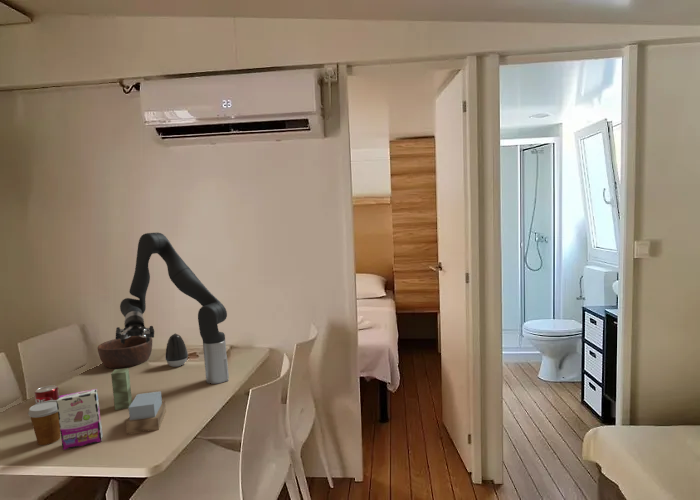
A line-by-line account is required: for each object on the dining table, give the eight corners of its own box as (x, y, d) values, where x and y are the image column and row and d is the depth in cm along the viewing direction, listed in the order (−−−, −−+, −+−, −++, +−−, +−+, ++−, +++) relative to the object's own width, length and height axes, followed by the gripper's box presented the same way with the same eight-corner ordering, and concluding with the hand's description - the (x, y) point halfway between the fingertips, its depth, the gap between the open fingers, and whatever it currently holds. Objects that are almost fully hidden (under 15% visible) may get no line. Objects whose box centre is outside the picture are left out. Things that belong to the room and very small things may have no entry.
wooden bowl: (164, 357, 245) (162, 338, 244) (118, 373, 224) (116, 352, 223) (135, 352, 258) (133, 333, 257) (89, 366, 237) (86, 346, 236)
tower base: (166, 412, 176) (165, 401, 176) (159, 430, 161) (157, 417, 161) (137, 417, 174) (135, 405, 173) (127, 435, 159) (125, 422, 159)
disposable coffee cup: (35, 438, 161) (30, 403, 160) (67, 431, 164) (63, 397, 163) (28, 450, 152) (24, 414, 151) (63, 443, 156) (59, 407, 155)
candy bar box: (103, 435, 159) (97, 387, 158) (101, 442, 155) (96, 392, 153) (64, 444, 155) (58, 394, 154) (62, 450, 150) (56, 400, 149)
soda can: (50, 425, 170) (46, 392, 169) (33, 424, 172) (29, 392, 170) (66, 416, 177) (62, 385, 176) (49, 415, 179) (45, 384, 178)
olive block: (132, 403, 186) (128, 367, 185) (129, 408, 182) (125, 372, 180) (118, 404, 185) (114, 369, 184) (114, 410, 180) (111, 373, 179)
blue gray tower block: (162, 403, 174) (160, 391, 173) (155, 417, 162) (153, 404, 161) (138, 406, 172) (137, 394, 172) (129, 420, 160) (128, 407, 160)
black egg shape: (188, 360, 238) (186, 330, 236) (188, 366, 228) (185, 335, 226) (166, 363, 234) (163, 333, 233) (165, 370, 225) (162, 338, 223)
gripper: (115, 315, 199) (115, 333, 185) (152, 314, 205) (155, 331, 191) (115, 331, 201) (115, 350, 187) (152, 330, 207) (154, 348, 193)
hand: (135, 341), depth 189 cm, fingers open, 8 cm apart
